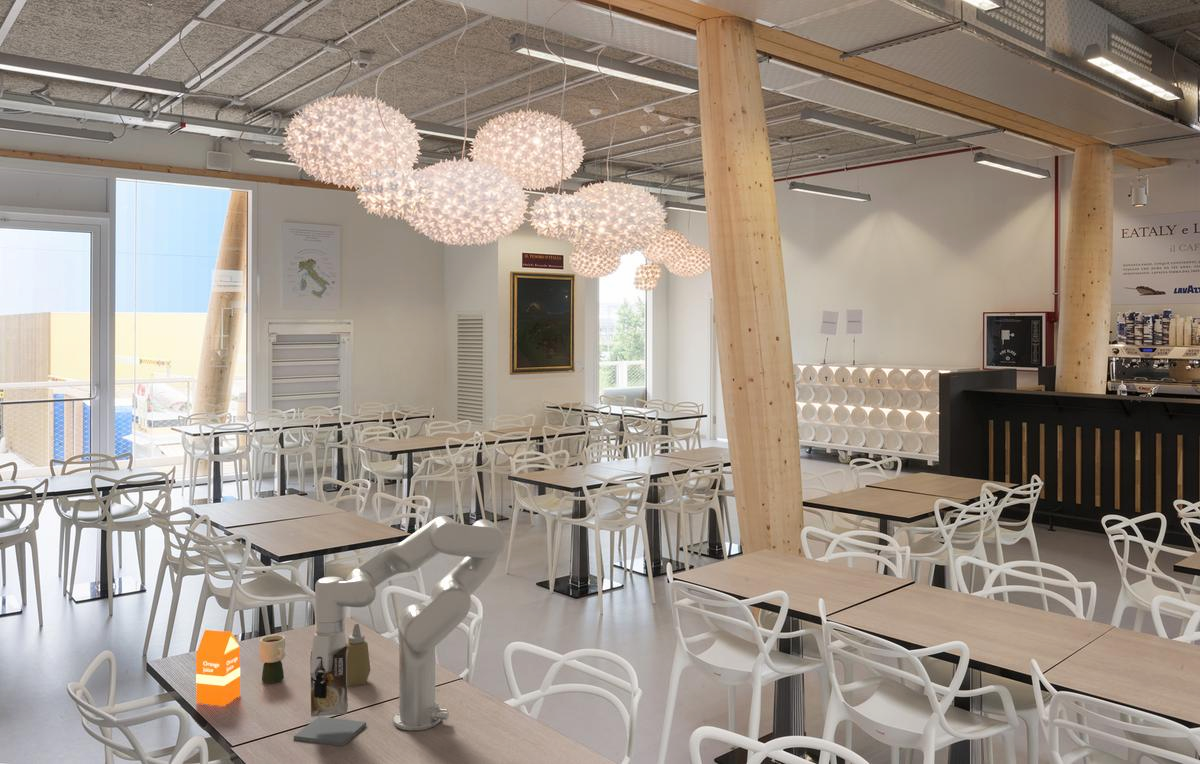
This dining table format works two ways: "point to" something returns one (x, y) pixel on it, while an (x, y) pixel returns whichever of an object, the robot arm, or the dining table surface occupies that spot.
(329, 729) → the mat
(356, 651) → the squeeze bottle
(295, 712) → the dining table surface
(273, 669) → the character mug
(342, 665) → the coffee box
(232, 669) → the orange juice
